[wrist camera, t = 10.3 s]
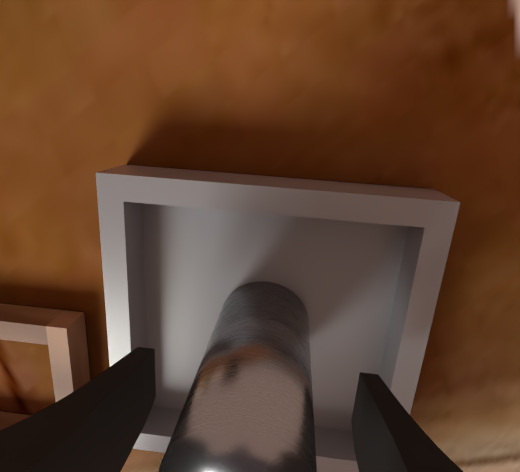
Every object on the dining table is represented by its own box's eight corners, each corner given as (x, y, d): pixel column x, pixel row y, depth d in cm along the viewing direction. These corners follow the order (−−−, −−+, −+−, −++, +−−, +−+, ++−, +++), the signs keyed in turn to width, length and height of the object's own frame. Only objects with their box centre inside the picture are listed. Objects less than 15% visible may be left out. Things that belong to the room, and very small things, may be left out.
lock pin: (304, 363, 17) (309, 559, 10) (219, 353, 17) (159, 536, 10) (313, 286, 16) (327, 440, 8) (221, 277, 16) (155, 418, 9)
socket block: (95, 437, 21) (80, 460, 19) (-37, 419, 21) (-61, 441, 20) (84, 312, 18) (66, 328, 17) (-66, 296, 19) (-95, 310, 18)
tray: (381, 438, 19) (393, 483, 17) (137, 407, 20) (115, 446, 18) (434, 189, 15) (460, 202, 13) (125, 164, 16) (95, 172, 14)
